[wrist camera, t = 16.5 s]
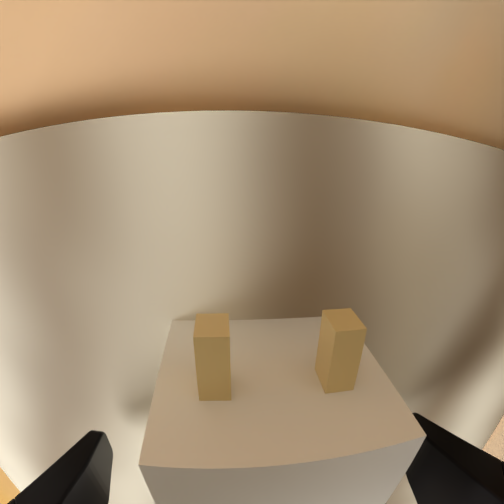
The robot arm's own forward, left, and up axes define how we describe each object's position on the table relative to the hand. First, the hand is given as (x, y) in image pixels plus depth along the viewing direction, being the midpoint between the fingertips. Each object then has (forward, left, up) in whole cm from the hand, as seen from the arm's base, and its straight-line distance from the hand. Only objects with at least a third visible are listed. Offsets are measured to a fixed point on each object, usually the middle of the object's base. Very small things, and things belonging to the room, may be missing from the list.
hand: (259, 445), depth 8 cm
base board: (0, +21, -2) cm, 21 cm away
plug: (0, +5, -1) cm, 5 cm away
